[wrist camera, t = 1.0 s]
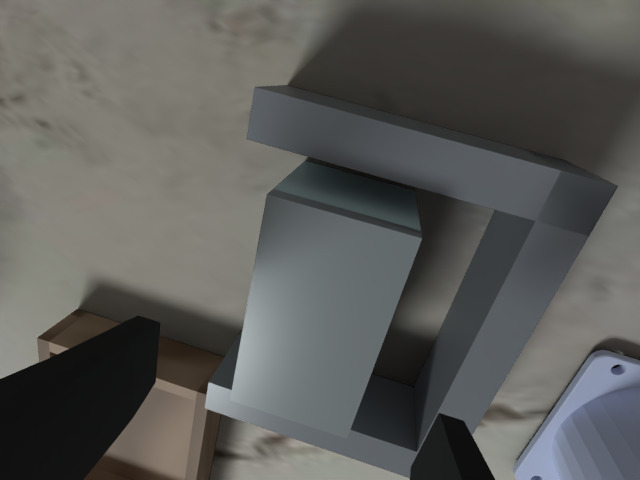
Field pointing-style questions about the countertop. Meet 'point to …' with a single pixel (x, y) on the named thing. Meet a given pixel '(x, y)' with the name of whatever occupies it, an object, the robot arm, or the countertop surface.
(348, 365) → the pale grey block
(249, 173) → the countertop surface
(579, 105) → the countertop surface
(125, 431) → the walnut tray
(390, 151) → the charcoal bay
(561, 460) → the robot arm
